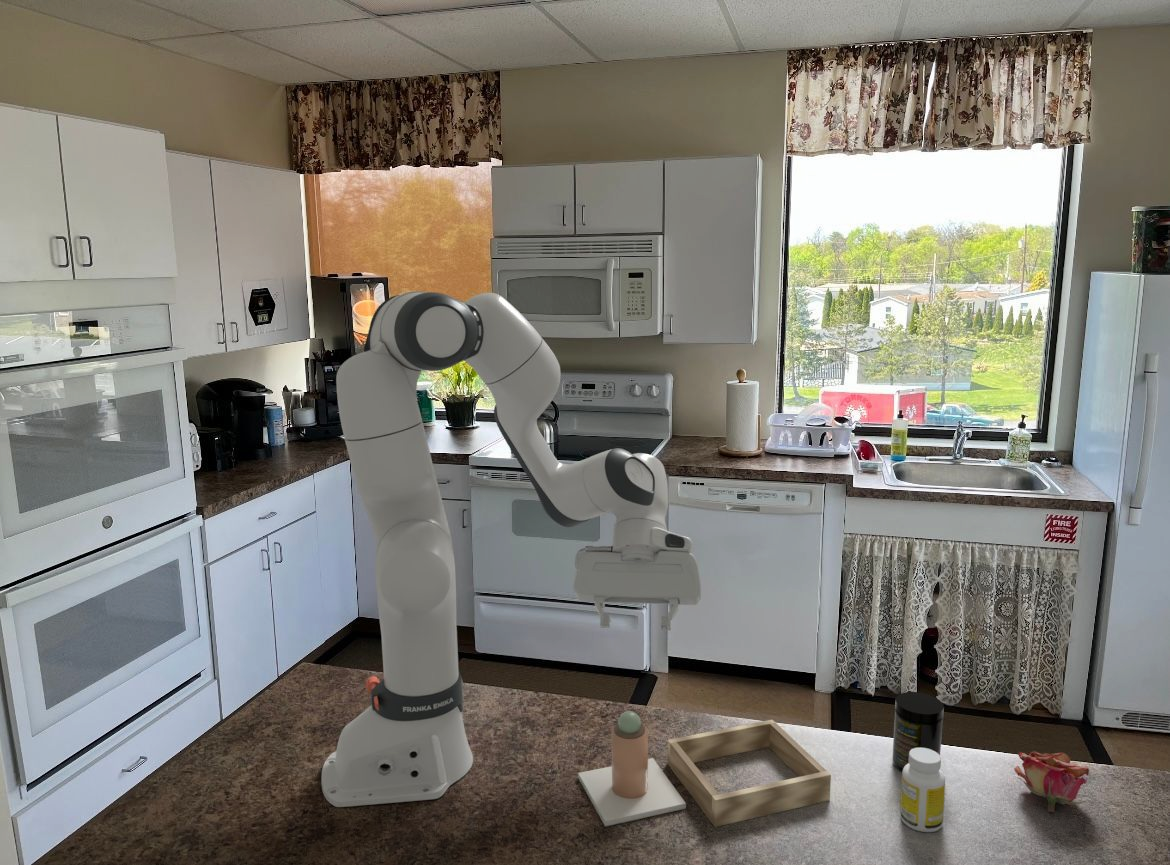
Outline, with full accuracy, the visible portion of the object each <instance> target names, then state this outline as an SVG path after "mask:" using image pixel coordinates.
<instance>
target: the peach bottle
mask: <svg viewBox="0 0 1170 865" xmlns="http://www.w3.org/2000/svg"><path fill="white" fill-rule="evenodd" d="M610 733H611V734H610V738H611V739H610V740H611V766H612V790H613V792H614V793H615V794H616V795H618V796H620V797H623V798H628V799H633V798H638V797H641V796H643V795H644V794H646V792H647V791H648V759H649V729H648V727H647V726H646V725H644V724H643V723H642V722H641V718H640V716H639V714H638V713H636V712H635V711H630V710H627V711H624V712H622V713H621V714H620V716H619V717H618V722H617V723H616V724H614V725H613V726H612V727H611V730H610Z"/></svg>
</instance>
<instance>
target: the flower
mask: <svg viewBox="0 0 1170 865" xmlns="http://www.w3.org/2000/svg"><path fill="white" fill-rule="evenodd" d="M1018 757H1019V759H1020V760H1021V761H1022V764H1021V766H1022V768H1023V769H1024V773H1023V771H1022V770H1021V768H1020V766H1019V765H1016V767H1014V768H1013V769H1014V772H1015V773H1016V774H1017V777H1018V780H1021V781H1022V782H1023V784H1025V786H1026V787H1027V789H1028V790H1029V791H1030V792H1031V793H1032V794H1035V795H1037V796H1039V797H1041V798H1043V799H1044V798H1045V799H1047V801H1048V802H1047V803H1048V804H1047V812H1048V813H1050V814H1055V805H1056V803H1058V804H1061V805H1068V806H1069V807H1071V808H1073V807H1072V806H1075V805H1079V804H1082V803H1085V802H1091V800H1083V801H1080V802H1079V801H1078V802H1077V801H1075V799H1076V798H1077V796H1078V793H1079V791H1080V789H1081V787H1082V785H1084V784H1087V782H1088V781H1087V779H1086V778H1084V777H1082V776H1084V775H1086V776H1088V775H1089V772H1090V768H1089V766H1087V765H1085V766H1082V765H1079V764H1078V763H1077V762H1076V761H1075V762H1074V761H1072V762H1071V758H1070V756H1069V755H1068V754H1066V753H1065V752H1057V753H1046V752H1045V753H1039V752H1037V751H1035V750H1033V751H1031V752H1030V754H1029V755H1028V754H1026V753H1025V752H1020V751H1018ZM1019 777H1021V778H1019ZM1022 778H1023V779H1022Z"/></svg>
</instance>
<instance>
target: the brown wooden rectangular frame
mask: <svg viewBox="0 0 1170 865" xmlns="http://www.w3.org/2000/svg"><path fill="white" fill-rule="evenodd" d="M766 748H769V749H771V751H773V752H774V754H776V756H777V757H778V758H780V759H781V760H782V762H784V763H785V764H786V765H787V766H788V767H789V769H791V770H792V771H793V773H794V774H795V775H797V777H793V778H788V779H784V780H779V781H774V782H770V783H765V784H760V785H755V786H751V787H747V788H743V789H742V788H741V789H739V790H738V789H737V790H734V791H728V792H725V793H718V792H717V790H716V789H715V788H714V787H713V785H712V784H711V783H710V782H709V780H708V779H707V778H706V777H705V776H704V774H703V773H702V771H700V769H699V768H698V767H697V765H695V763H699V762H702V761H708V760H713V759H718V758H722V757H727V756H731V755H737V754H743V753H746V752H752V751H757V750H761V749H766ZM667 766H668V767H669V768H670V769H671V771H672V772H673V773H674V775H676V777H677V778H678V780H679V781H680V782H681V784H682V785H683V787H684V788H685V789H686V790H687V792H688V793H689V794H690V796H691V797H692V799H693V800H694V801H695V802H696V804H697V805H698V807H700V809H701V811H702V812H703V813H704V815H705V816H706V817H707V819H708V820H709V821H710V822H711V823H712V825H713V826H714V827H715V828H718V827H722V826H724V825H726V826H727V825H730V824H733V823H738V822H742V821H746V820H751V819H755V818H760V817H764V816H769V815H772V814H777V813H781V812H785V811H789V810H794V809H798V808H803V807H807V806H812V805H816V804H819V803H825V802H828V801H830V799H831V781H832V774H831V773H830V772H829V771H828V770H826V769H825V767H824V766H822V765H821V764H820V763H819V762H818V761H817V760H816V759H815V758H814V757H813V756H812V755H811V754H809V752H808V751H807V750H805V749H804V748H803V747H802V746H801V744H799V743H798V742H797V741H796V740H795V739H794V738H793V737H791V735H789V734H788V733H787V732H786V731H785V730H784V729H783V728H782V727H781V726H780V725H779V724H778V723H777V722H776V721H774V719H768V720H763V721H757V722H752V723H748V724H743V725H737V726H731V727H726V728H722V729H717V730H712V731H705V732H701V733H697V734H692V735H686V736H681V737H675V738H670V739H667Z"/></svg>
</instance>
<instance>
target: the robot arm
mask: <svg viewBox="0 0 1170 865" xmlns="http://www.w3.org/2000/svg"><path fill="white" fill-rule="evenodd" d="M365 339H366V340H365V343H364V346H363V352H360V353H357V354H355V355H353V356H351V357H349V358H348V359H346V360H345V361H344V362H343V363H342V364H341V365H340V366H339V368H338V369H337V371H336V379H335V381H336V382H335V384H336V394H337V395H336V396H337V406H338V413H339V420H340V425H341V429H342V433H343V437H344V442H345V445H346V450H347V454H348V457H349V461H350V464H351V468H352V472H353V476H354V480H355V485H356V488H357V492H358V494H359V496H360V498H361V501H362V503H363V506H364V508H365V511H366V515H367V517H368V519H369V523H370V526H371V529H372V532H373V535H374V536H373V537H374V540H375V545H376V546H375V547H376V548H375V549H376V558H375V566H374V575H375V576H374V577H375V578H374V579H375V588H376V601H377V609H378V617H379V625H380V635H381V653H382V666H383V667H382V668H383V679H382V680H380V679H379V678H378V677H377V676H376V675H375V676H374V675H373V676H369V677H367V679H366V682H365V685H366V690H367V692H368V693H369V694H370V702H371V704H370V706H369V707H367V708H366V709H365V710H364V711H363V712H361V713H360V714H359V715H358V716H356V717H355V718H354V719H352V721H349V722H348V723H347V724H346V725H345V727H343V729H342V730H341V733H340V734H339V738H338V742H337V746H336V750H335V751H334V752H331V754H329V756H328V757H327V758H326V760H325V761H324V764H322V765H323V766H322V769H321V790H322V794H323V796H324V798H325V799H326V801H327V802H329V804H331V805H332V806H334V807H335V808H345V807H357V806H358V807H359V806H368V805H370V806H371V805H380V804H381V805H383V804H392V803H404V802H406V803H407V802H415V801H416V802H417V801H428V800H436V799H440V798H441V797H442V796H443V795H445V793H446V791H447V790H448V789H449V787H450V786H451V785H453V784H454V783H456V782H457V781H460V780H461V779H462V778H463V777H464V776H465V775H466V774H467V773H468V772H469V771H470V770H471V768H472V766H473V763H474V755H473V753H472V750H471V748H470V745H469V742H468V738H467V733H466V730H465V724H464V719H463V709H464V708H463V707H464V686H463V685H464V682H463V678H462V675H461V672H460V671H459V653H458V652H459V651H458V630H457V629H458V628H457V627H458V626H457V587H456V585H457V578H456V577H457V576H456V562H455V555H454V548H453V541H452V536H451V531H450V526H449V523H448V522H449V521H448V519H447V515H446V511H445V506H444V503H443V499H442V495H441V492H440V487H439V485H438V484H439V483H438V479H437V476H436V472H435V469H434V464H433V460H432V455H431V452H430V447H429V443H428V439H427V434H426V431H425V427H424V422H423V418H422V414H421V411H420V407H419V403H418V397H417V396H418V395H417V387H418V380H419V378H420V375H421V374H422V371H427V372H428V371H429V372H435V371H436V372H438V371H444V370H447V369H449V368H453V367H454V366H456V365H458V364H459V363H462V362H465V363H466V364H468V365H469V367H471V368H472V369H473V370H474V371H475V373H476V374H477V375H478V377H479V378H480V379H481V380H482V382H483V383H484V384H485V385H486V387H487V388H488V389H489V391H490V392H491V395H492V396H493V399H494V402H495V405H494V409H493V415H494V416H493V417H494V420H495V423H496V425H497V428H498V430H499V432H500V433H501V435H502V437H503V439H504V440H505V442H506V444H507V446H508V447H509V450H510V451H511V452H512V454H513V456H514V457H515V459H516V460H517V462H518V463H519V465H520V466H521V468H522V470H523V471H524V474H525V475H526V476H527V479H529V481H530V482H531V484H532V486H533V488H534V490H535V491H536V494H537V496H538V500H539V502H540V504H541V506H542V508H543V509H542V510H543V511H544V512H545V514H546V515H547V516H548V517H549V518H550V519H551V520H552V521H554V523H557V524H558V525H560V526H562V527H565V528H574V527H576V526H578V525H580V524H583V523H585V522H587V521H590V520H591V519H593V518H598V517H600V516H603V515H606V514H609V513H610V514H613V515H614V516H615V523H614V525H613V535H612V536H613V537H612V545H603V546H602V545H600V546H599V545H598V546H594V545H586V546H585V547H584V548H581V549H579V550H578V551H577V552H576V554H575V560H574V565H575V568H576V572H575V575H574V580H573V594H574V596H575V597H576V599H577V600H578V601H579V602H582V603H584V602H585V603H593V604H594V607H595V609H596V611H597V613H598V615H599V618H600V619H599V620H600V621H599V626H600V629H611V622H612V621H611V620H612V617H611V614H610V613H605V612H604V609H605V606H606V603H608V604H609V603H610V604H611V603H613V604H614V603H615V604H618V603H620V604H642V605H643V604H647V605H648V604H649V605H650V604H651V605H668V606H669V611H668V613H667V614H666V615H661V617H660V618H661V619H660V621H661V622H660V629H661V631H671V630H672V621H673V620H674V618H675V617H676V616H677V613H678V612H679V608H680V605H681V606H682V605H683V606H696V605H698V604H699V603H700V602H701V600H702V584H701V574H700V568H699V563H698V560H697V558H696V557H695V555H694V554H695V551H694V544H693V541H692V539H691V538H690V537H688V536H684V535H681V534H678V533H674V532H672V531H668V528H667V524H666V516H667V514H668V513H667V512H668V509H669V506H668V505H669V490H668V488H669V487H668V480H667V474H666V470H665V466H664V464H663V463H662V462H661V460H660V459H659V458H657V457H655V456H653V455H651V454H648V453H644V452H643V453H642V452H637V453H636V452H635V453H631V452H630V451H628V450H627V449H624V448H618V447H617V448H613V449H612V448H611V449H609V450H608V449H607V450H605V451H602V452H599V453H597V454H594V455H591V456H589V457H587V458H585V459H582V460H580V461H576V462H573V463H571V464H570V463H569V464H567V463H563V462H560V461H559V460H558V459H557V458H556V456H555V455H554V453H553V451H552V449H551V448H550V446H549V445H548V442H547V441H546V439H545V438H544V436H543V435H542V433H541V431H540V429H539V426H538V418H540V416H541V415H542V414H543V413H544V412H545V411H546V409H547V408H548V407H549V405H550V404H551V402H552V401H553V399H554V398H555V396H556V394H557V392H558V390H559V386H560V382H561V365H560V362H559V361H558V359H557V356H556V355H555V353H554V352H553V350H552V349H551V348H550V346H549V345H548V344H547V342H546V341H545V340H544V338H543V337H542V336H541V335H540V333H539V332H538V331H537V330H536V328H535V327H534V326H533V325H532V324H531V323H530V322H529V320H527V318H526V317H524V315H523V314H522V313H521V312H520V311H519V310H518V309H516V308H515V307H514V306H513V305H512V304H511V303H510V302H509V301H508V300H506V298H504V296H502V295H500V294H498V293H496V292H495V293H494V292H483V293H479V294H476V295H474V296H472V297H469V298H468V299H467V300H466V301H465V302H464V301H461V300H459V299H456V298H454V297H453V296H450V295H447V294H444V293H440V292H433V291H431V292H426V291H422V290H421V291H419V290H416V291H409V292H408V291H407V292H403V293H400V294H396V295H393V296H391V297H389V298H387V299H385V300H384V301H382V303H381V304H380V305H379V306H378V307H377V308H376V309H375V311H374V313H373V315H372V318H371V320H370V324H369V329H368V333H367V336H366V338H365Z"/></svg>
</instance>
